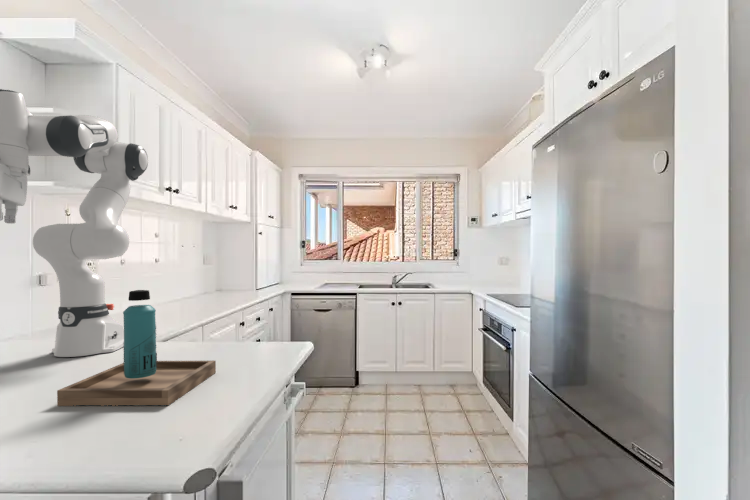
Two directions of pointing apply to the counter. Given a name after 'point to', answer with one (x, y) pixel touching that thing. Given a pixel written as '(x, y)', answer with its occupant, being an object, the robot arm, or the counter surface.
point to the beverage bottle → (139, 337)
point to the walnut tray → (138, 385)
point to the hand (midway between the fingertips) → (3, 221)
